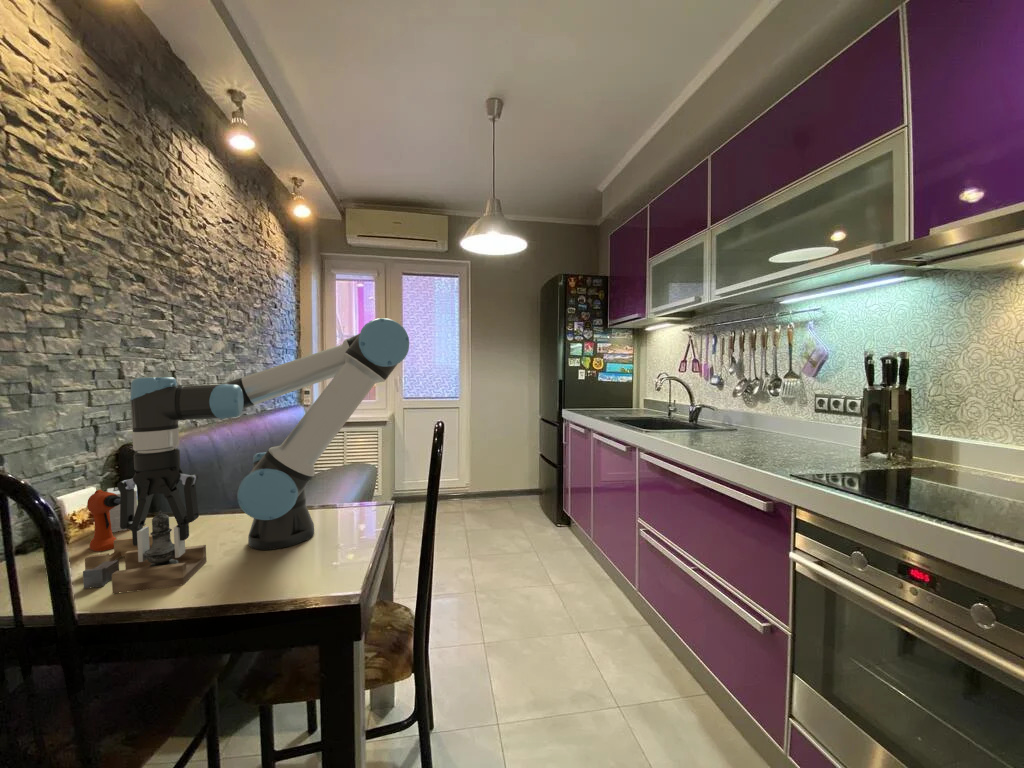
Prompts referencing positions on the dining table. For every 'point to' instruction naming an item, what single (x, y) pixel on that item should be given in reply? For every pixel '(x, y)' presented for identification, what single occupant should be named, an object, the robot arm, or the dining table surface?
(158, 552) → the chess piece
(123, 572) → the rack
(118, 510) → the light bulb box
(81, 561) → the dining table surface
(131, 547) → the socket frame
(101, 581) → the bar
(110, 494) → the toy drill
